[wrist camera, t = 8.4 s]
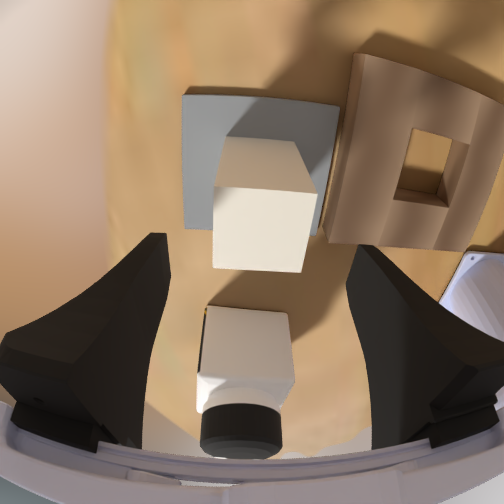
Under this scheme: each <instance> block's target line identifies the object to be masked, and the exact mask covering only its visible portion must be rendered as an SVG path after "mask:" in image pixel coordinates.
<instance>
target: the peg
mask: <svg viewBox="0 0 504 504" xmlns="http://www.w3.org/2000/svg"><path fill="white" fill-rule="evenodd" d="M317 195H318V193H317V191H316V189H315V186H314V184H313V182H312V180H311V177H310V175H309V173H308V171H307V168H306V166H305V164H304V162H303V160H302V157H301V155H300V153H299V151H298V149H297V147H296V144H295V142H293V141H283V140H272V139H260V138H246V137H230V136H226V137H225V141H224V145H223V149H222V153H221V158H220V162H219V166H218V171H217V175H216V179H215V184H214V204H213V268H221V269H239V270H258V271H278V272H298V273H301V270H302V265H303V261H304V257H305V252H306V248H307V243H308V238H309V234H310V229H311V224H312V220H313V215H314V210H315V205H316V200H317Z"/></svg>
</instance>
